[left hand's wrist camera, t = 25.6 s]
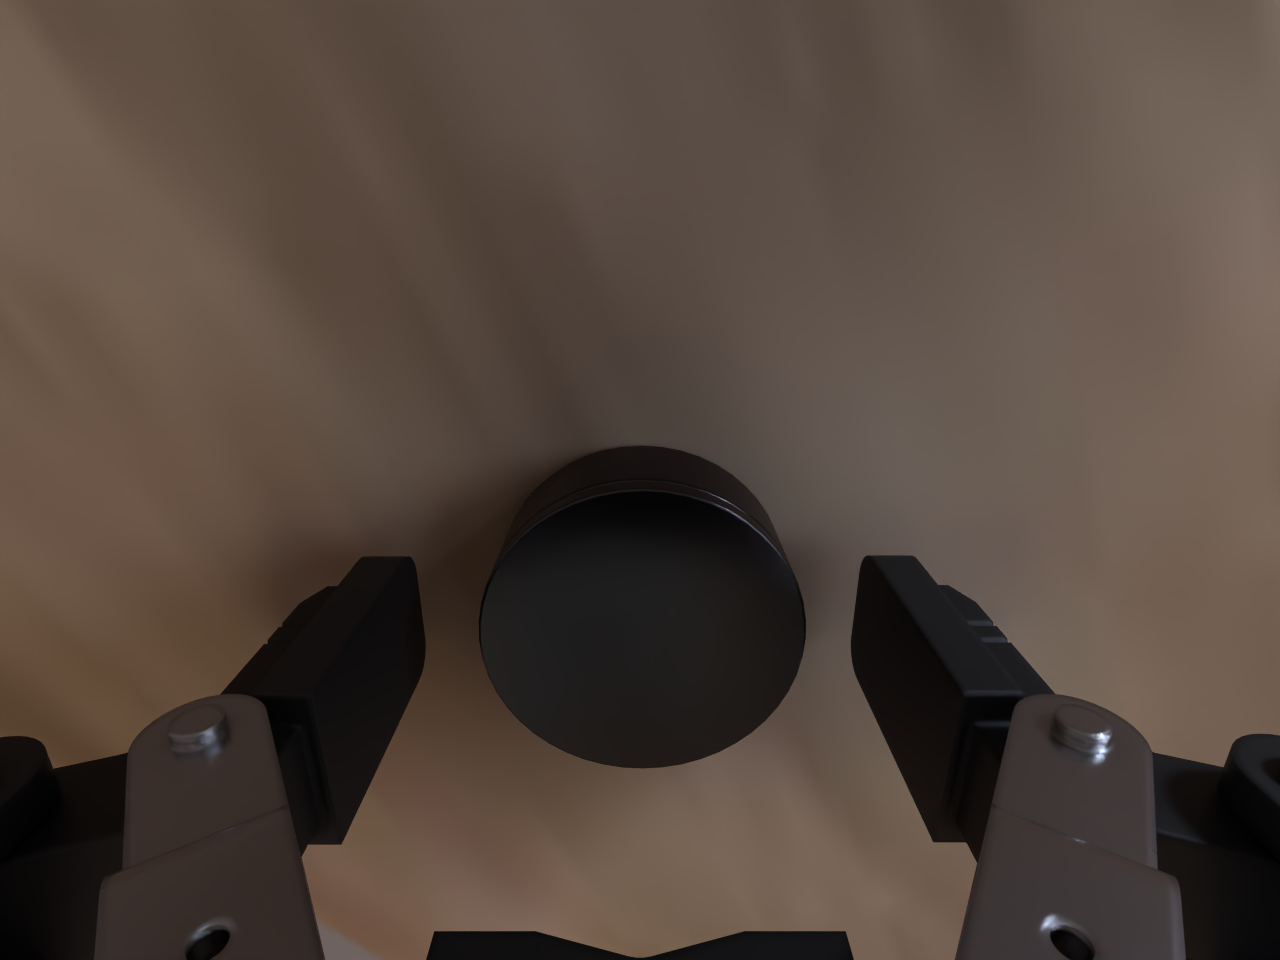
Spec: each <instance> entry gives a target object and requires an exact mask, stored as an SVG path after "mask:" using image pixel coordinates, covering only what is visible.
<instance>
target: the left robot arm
mask: <svg viewBox="0 0 1280 960" xmlns="http://www.w3.org/2000/svg"><path fill="white" fill-rule="evenodd" d="M425 649H426V644H425V633H424V625H423V617H422V610H421V602H420V594H419V587H418V579H417V572H416V567H415V564H414V561H413V559H412V558H411V557H362V558H360V559H359V561H358V562H357V563H356V564H355V565H354V567H353V568H352V569H351V570H350V572H349V573H348V574H347V575H346V577H345V578H344V579H343V580H342V581H341V583H340V584H339V585H338V586H327V587H326V588H324V589H323V590H321V591H319V592H318V593H316V594H314V595H313V596H311V597H309V598H308V599H306V600H305V601H303V602H301V603H300V604H299V605H298V606H297V607H296V608H295V609H294V611H293V612H292V613H291V614H290V615H289V616H288V617H287V619H286V620H285V621H284V622H283V623H282V627H279V628H278V629H277V630H276V631H275V632H274V633H273V635H272V636H271V637H270V638H269V639H268V644H264V645H263V646H262V647H261V648H260V649H259V651H258V652H257V653H256V654H255V655H254V656H253V657H252V659H251V660H250V661H249V662H248V663H247V664H246V665H245V667H244V668H243V669H242V670H241V671H240V672H239V673H238V675H237V676H236V677H235V678H234V679H233V680H232V681H231V683H230V684H229V685H228V686H227V687H226V688H225V690H224V691H223V692H222V693H221V694H220V695H215V696H210V697H206V698H202V699H198V700H195V701H192V702H189V703H186V704H184V705H182V706H179V707H177V708H175V709H173V710H171V711H169V712H167V713H166V714H164V715H162V716H161V717H159V718H157V719H156V720H154V721H153V722H152V723H151V724H149V725H148V726H147V727H145V728H144V729H143V730H142V731H141V732H140V733H139V734H138V736H137V737H136V738H135V740H134V741H133V742H132V744H131V746H130V748H129V751H128V753H125V754H121V755H117V756H112V757H107V758H103V759H98V760H93V761H88V762H84V763H79V764H74V765H69V766H65V767H60V768H55V769H53V767H52V764H51V762H50V759H49V756H48V754H47V751H46V749H45V746H44V745H43V744H42V743H41V742H40V741H38V740H36V739H34V738H30V737H23V736H10V737H1V738H0V960H325V957H324V952H323V948H322V944H321V940H320V935H319V931H318V927H317V922H316V918H315V914H314V909H313V905H312V901H311V896H310V892H309V888H308V884H307V879H306V875H305V871H304V867H303V862H302V858H301V857H302V855H303V853H304V851H305V849H306V847H307V845H308V844H342V842H343V840H344V838H345V836H346V834H347V832H348V829H349V827H350V825H351V823H352V821H353V819H354V817H355V815H356V813H357V810H358V808H359V806H360V804H361V802H362V800H363V798H364V796H365V794H366V791H367V789H368V787H369V785H370V783H371V781H372V779H373V777H374V775H375V772H376V770H377V768H378V766H379V764H380V762H381V760H382V758H383V756H384V753H385V751H386V749H387V747H388V745H389V743H390V741H391V739H392V737H393V734H394V732H395V730H396V728H397V726H398V724H399V722H400V720H401V718H402V715H403V713H404V711H405V709H406V707H407V705H408V703H409V701H410V699H411V696H412V694H413V692H414V690H415V688H416V686H417V684H418V682H419V680H420V677H421V674H422V671H423V667H424V661H425ZM851 656H852V663H853V668H854V672H855V675H856V677H857V680H858V682H859V684H860V686H861V688H862V690H863V693H864V695H865V697H866V699H867V701H868V703H869V705H870V708H871V710H872V712H873V714H874V716H875V718H876V720H877V723H878V725H879V727H880V729H881V731H882V733H883V735H884V737H885V740H886V742H887V744H888V746H889V748H890V750H891V752H892V755H893V757H894V759H895V761H896V763H897V765H898V767H899V770H900V772H901V774H902V776H903V778H904V780H905V782H906V785H907V787H908V789H909V791H910V793H911V795H912V797H913V800H914V802H915V804H916V806H917V808H918V810H919V812H920V815H921V817H922V819H923V821H924V823H925V825H926V827H927V830H928V832H929V834H930V836H931V838H932V840H933V842H967V844H968V846H969V848H970V850H971V852H972V854H973V856H974V858H975V860H976V862H977V866H976V871H975V875H974V879H973V884H972V888H971V892H970V896H969V901H968V905H967V909H966V914H965V918H964V922H963V927H962V931H961V935H960V939H959V944H958V948H957V952H956V957H955V960H1280V736H1278V735H1272V734H1250V735H1246V736H1242V737H1240V738H1238V739H1237V740H1236V741H1235V742H1234V743H1233V744H1232V747H1231V749H1230V752H1229V755H1228V757H1227V760H1226V762H1225V765H1224V767H1219V766H1214V765H1210V764H1205V763H1200V762H1195V761H1191V760H1186V759H1181V758H1176V757H1172V756H1167V755H1162V754H1157V753H1153V752H1152V751H1151V748H1150V746H1149V744H1148V742H1147V741H1146V740H1145V738H1144V737H1143V736H1142V734H1141V733H1140V732H1139V731H1138V730H1137V729H1136V728H1135V727H1133V726H1132V725H1131V724H1129V723H1128V722H1127V721H1126V720H1124V719H1123V718H1121V717H1119V716H1118V715H1116V714H1114V713H1113V712H1111V711H1109V710H1107V709H1105V708H1103V707H1101V706H1098V705H1096V704H1094V703H1091V702H1088V701H1085V700H1082V699H1078V698H1074V697H1070V696H1065V695H1057V694H1055V693H1054V692H1053V691H1052V690H1051V689H1050V687H1049V686H1048V685H1047V684H1046V683H1045V682H1044V680H1043V679H1042V678H1041V677H1040V676H1039V675H1038V674H1037V672H1036V671H1035V670H1034V669H1033V668H1032V667H1031V665H1030V664H1029V663H1028V662H1027V661H1026V660H1025V659H1024V657H1023V656H1022V655H1021V654H1020V653H1019V652H1018V650H1017V649H1016V648H1015V647H1014V646H1013V645H1012V643H1008V642H1007V638H1006V637H1005V635H1004V634H1003V633H1002V632H1001V631H1000V630H999V628H998V627H997V626H993V622H992V620H991V619H990V618H989V617H988V616H987V615H986V613H985V612H984V611H983V610H982V609H981V608H980V606H979V605H978V604H977V603H976V602H975V601H973V600H971V599H970V598H968V597H966V596H965V595H963V594H962V593H960V592H958V591H957V590H955V589H953V588H952V587H950V586H949V585H937V583H936V582H935V581H934V580H933V578H932V577H931V576H930V575H929V573H928V572H927V571H926V570H925V568H924V567H923V566H922V565H921V563H920V562H919V561H918V560H917V559H916V558H915V557H914V556H865V557H864V559H863V561H862V563H861V567H860V573H859V580H858V588H857V596H856V604H855V612H854V620H853V627H852V635H851ZM426 960H854V959H853V955H852V952H851V949H850V945H849V942H848V938H847V935H846V931H744V932H740V933H737V934H733V935H729V936H725V937H722V938H718V939H714V940H711V941H707V942H703V943H699V944H696V945H692V946H688V947H685V948H681V949H677V950H673V951H670V952H666V953H662V954H659V955H655V956H651V957H645V958H635V957H629V956H625V955H621V954H618V953H614V952H610V951H607V950H603V949H599V948H595V947H592V946H588V945H584V944H581V943H577V942H573V941H569V940H566V939H562V938H558V937H555V936H551V935H547V934H543V933H540V932H536V931H434V935H433V938H432V942H431V945H430V949H429V952H428V955H427V959H426Z"/></svg>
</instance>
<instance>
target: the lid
mask: <svg viewBox="0 0 1280 960" xmlns="http://www.w3.org/2000/svg"><path fill="white" fill-rule="evenodd" d="M805 639H806V618H805V610H804V603H803V599H802V596H801V592H800V589H799V586H798V583H797V580H796V578H795V576H794V574H793V571H792V569H791V566H790V564H789V562H788V559H787V557H786V555H785V552H784V550H783V548H782V545H781V543H780V541H779V538H778V536H777V534H776V531H775V529H774V527H773V525H772V523H771V521H770V518H769V516H768V514H767V513H766V511H765V510H764V508H763V507H762V505H761V504H760V502H759V501H758V499H757V498H756V497H755V496H754V495H753V494H752V493H751V492H750V490H749V489H748V488H747V487H746V486H745V485H744V484H742V483H741V482H740V481H739V480H738V479H737V478H735V477H734V476H733V475H732V474H730V473H729V472H727V471H725V470H724V469H722V468H721V467H719V466H718V465H716V464H714V463H712V462H710V461H707V460H705V459H703V458H701V457H699V456H696V455H693V454H690V453H686V452H683V451H680V450H675V449H669V448H664V447H652V446H632V447H620V448H615V449H610V450H605V451H601V452H598V453H595V454H592V455H589V456H586V457H583V458H581V459H579V460H577V461H575V462H573V463H571V464H568V465H566V466H565V467H563V468H562V469H560V470H559V471H557V472H556V473H554V474H553V475H551V476H550V477H549V478H548V479H547V480H545V481H544V482H543V483H542V484H541V485H540V486H538V487H537V488H536V490H535V491H534V492H533V493H532V494H531V495H530V496H529V498H528V499H527V500H526V501H525V502H524V504H523V506H522V507H521V509H520V510H519V512H518V513H517V515H516V517H515V519H514V521H513V523H512V525H511V527H510V530H509V532H508V534H507V537H506V539H505V541H504V544H503V546H502V549H501V551H500V554H499V556H498V558H497V561H496V563H495V566H494V568H493V570H492V573H491V575H490V578H489V580H488V583H487V585H486V588H485V592H484V595H483V599H482V602H481V608H480V616H479V641H480V647H481V652H482V658H483V661H484V664H485V667H486V670H487V673H488V676H489V678H490V680H491V682H492V684H493V686H494V688H495V690H496V692H497V693H498V695H499V696H500V698H501V699H502V700H503V702H504V703H505V705H506V706H507V708H508V709H509V710H510V711H511V712H512V713H513V714H514V715H515V716H516V718H517V719H518V720H519V721H520V722H521V723H523V724H524V725H525V726H526V727H527V728H528V729H530V730H531V731H532V732H533V733H534V734H536V735H537V736H539V737H540V738H542V739H543V740H545V741H546V742H548V743H549V744H551V745H553V746H555V747H557V748H559V749H561V750H563V751H565V752H567V753H569V754H572V755H574V756H577V757H580V758H582V759H585V760H589V761H593V762H596V763H600V764H604V765H611V766H617V767H626V768H658V767H667V766H673V765H680V764H684V763H688V762H692V761H695V760H699V759H702V758H705V757H707V756H710V755H712V754H715V753H718V752H720V751H722V750H724V749H726V748H727V747H729V746H731V745H733V744H735V743H737V742H738V741H740V740H741V739H743V738H744V737H746V736H747V735H749V734H750V733H751V732H753V731H754V730H755V729H756V728H757V727H758V726H760V725H761V724H762V723H763V722H764V721H765V720H766V719H767V718H768V717H769V716H770V715H771V714H772V713H773V711H774V710H775V709H776V708H777V707H778V706H779V704H780V703H781V701H782V700H783V698H784V697H785V695H786V694H787V692H788V691H789V689H790V687H791V685H792V683H793V681H794V679H795V677H796V675H797V672H798V669H799V666H800V663H801V660H802V656H803V651H804V645H805Z"/></svg>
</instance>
